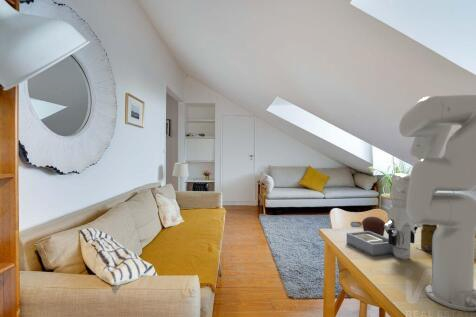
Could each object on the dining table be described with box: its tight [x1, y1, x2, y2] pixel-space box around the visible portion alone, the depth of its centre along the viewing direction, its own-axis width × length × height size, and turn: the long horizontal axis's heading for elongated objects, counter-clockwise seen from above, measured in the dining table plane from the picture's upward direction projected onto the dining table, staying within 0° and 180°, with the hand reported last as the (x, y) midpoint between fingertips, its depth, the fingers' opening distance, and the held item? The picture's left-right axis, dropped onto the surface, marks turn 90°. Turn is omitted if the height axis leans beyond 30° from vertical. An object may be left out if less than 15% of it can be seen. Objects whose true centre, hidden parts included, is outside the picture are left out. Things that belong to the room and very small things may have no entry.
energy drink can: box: [392, 223, 411, 260], centre depth 105 cm, size 6×6×15 cm
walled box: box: [346, 230, 394, 257], centre depth 116 cm, size 16×13×5 cm
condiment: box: [416, 224, 438, 255], centre depth 113 cm, size 7×8×12 cm
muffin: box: [361, 216, 386, 237], centre depth 132 cm, size 12×11×10 cm
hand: (401, 243), depth 106 cm, fingers open, 9 cm apart
